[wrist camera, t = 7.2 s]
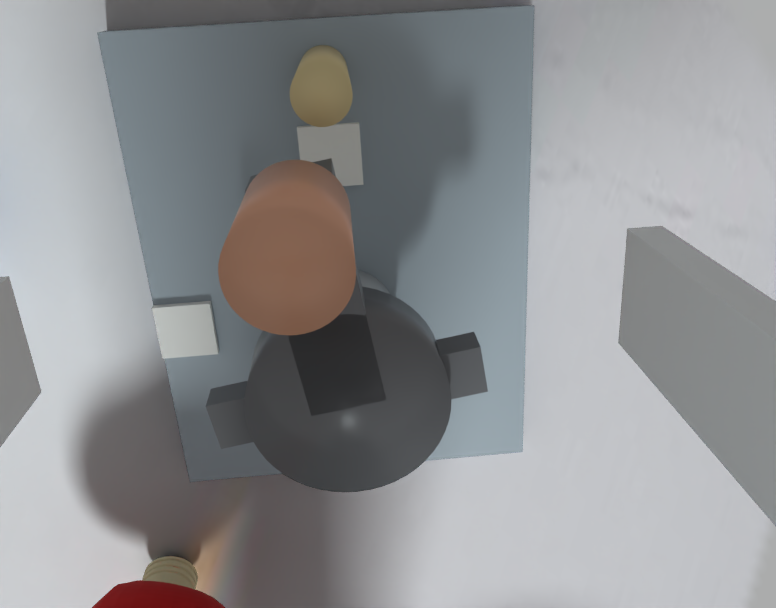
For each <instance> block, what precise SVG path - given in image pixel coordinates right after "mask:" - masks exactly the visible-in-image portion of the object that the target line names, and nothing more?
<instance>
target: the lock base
mask: <svg viewBox="0 0 776 608" xmlns="http://www.w3.org/2000/svg"><path fill="white" fill-rule="evenodd" d="M97 34H98V39H99V44H100V49H101V54H102V58H103V63H104V68H105V73H106V78H107V83H108V87H109V92H110V97H111V102H112V107H113V112H114V117H115V121H116V126H117V131H118V136H119V141H120V146H121V151H122V155H123V160H124V165H125V170H126V175H127V180H128V184H129V189H130V194H131V199H132V204H133V209H134V214H135V218H136V223H137V228H138V233H139V238H140V243H141V248H142V252H143V257H144V262H145V267H146V272H147V277H148V281H149V286H150V291H151V296H152V301H153V307H152V312H153V316H154V321H155V326H156V331H157V336H158V340H159V345H160V350H161V355H162V359H165V364H166V369H167V374H168V378H169V383H170V388H171V393H172V398H173V403H174V408H175V412H176V417H177V422H178V427H179V432H180V437H181V441H182V446H183V451H184V456H185V461H186V466H187V471H188V475H189V480H190V482H196V481H207V480H218V479H229V478H240V477H251V476H262V475H273V474H283V473H281V472H280V471H278V470H277V469H276V468H275V467H273V466H272V465H271V464H270V463H269V462H268V461H267V460H266V459H265V458H264V456H263V455H262V454H261V453H260V452H259V450H258V449H257V447H256V445H255V444H254V442H252V443H247V444H242V445H238V446H233V447H228V448H224V449H221V447H220V445H219V442H218V439H217V436H216V434H215V431H214V428H213V425H212V423H211V420H210V417H209V415H208V412H207V409H206V403H207V400H208V397H209V393H210V390H211V389H212V388H216V387H221V386H225V385H230V384H235V383H239V382H244V381H248V377H249V372H250V368H251V363H252V358H253V353H254V349H255V347H256V344H257V341H258V339H259V337H260V335H261V333H262V331H263V330H260V329H258V328H256V327H254V326H252V325H250V324H249V323H247V322H246V321H245V320H243V319H242V318H241V317H240V316H239V315H238V314H237V313H236V312H235V311H234V310H233V309H232V308H231V306H230V305H229V304H228V302H227V300H226V298H225V297H224V294H223V292H222V289H221V286H220V282H219V275H218V263H219V258H220V254H221V251H222V248H223V245H224V243H225V240H226V238H227V236H228V233H229V231H230V228H231V226H232V224H233V221H234V219H235V217H236V214H237V212H238V209H239V207H240V205H241V202H242V200H243V197H244V195H245V193H246V192H245V189H246V187H247V184H248V182H249V180H250V177H251V176H253V175H257V174H259V173H260V172H261V171H262V170H263V169H265V168H267V167H268V166H270V165H272V164H275V163H277V162H281V161H286V160H305V161H309V162H316V161H321V160H325V159H330V158H332V162H333V167H334V171H335V175H336V178H337V179H338V180H339V181H340V183H341V184H342V186H343V187H344V189H345V191H346V193H347V196H348V199H349V203H350V210H351V221H352V232H353V243H354V253H355V259H356V263H357V267H358V272H359V276H360V280H361V284H362V287H367V288H372V289H377V290H380V291H383V292H385V293H388V294H390V295H392V296H394V297H396V298H398V299H400V300H402V301H403V302H405V303H406V304H408V305H409V306H411V307H412V308H413V309H414V310H415V311H416V312H417V313H418V314H419V315H420V316H421V317H422V318H423V319H424V320H425V322H426V323H427V324H428V326H429V327H430V329H431V331H432V332H433V334H434V337H435V339H436V340H438V339H442V338H447V337H452V336H456V335H461V334H465V333H470V332H474V333H475V335H476V337H477V340H478V342H479V345H480V347H481V353H482V359H483V364H484V370H485V376H486V382H487V388H488V392H484V393H479V394H475V395H470V396H465V397H461V398H456V399H451V413H450V418H449V422H448V425H447V428H446V431H445V433H444V435H443V437H442V439H441V441H440V443H439V444H438V446H437V447H436V449H435V450H434V452H433V453H432V454H431V455H430V456H429V457H428V458H427V459H426V460H425V461H428V460H439V459H450V458H461V457H472V456H483V455H494V454H505V453H516V452H523V415H524V378H525V341H526V303H527V266H528V228H529V191H530V154H531V116H532V79H533V41H534V6H531V5H520V6H504V7H488V8H471V9H455V10H439V11H423V12H406V13H390V14H374V15H357V16H341V17H325V18H309V19H292V20H276V21H260V22H243V23H227V24H211V25H194V26H178V27H162V28H146V29H129V30H113V31H103V32H98V33H97Z"/></svg>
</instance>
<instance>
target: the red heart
mask: <svg viewBox="0 0 776 608" xmlns="http://www.w3.org/2000/svg"><path fill="white" fill-rule="evenodd" d="M197 579H198V576H197V572H196V569H195V567H194V566H193V565H192V564H191V563H190V562H188V561H187V560H185V559H183V558H180V557H175V556H165V557H161V558H158V559H156V560H154V561H152V562H151V563H150V564H149V565H148V567H147V568H146V570H145V573H144V576H143V580H142V581H141V580H140V581H133V582H129V583H123V584H118V585H117V586H115V587H114V588H113V589H112V590H110V591H109V592H108V593H107V594H106V595H105V596H104V597H103V598H102V599H101V600H99V601H98V602H97V603H96V604H95V605H94V606H93V607H92V608H225V607H224V606H223V605H222V604H221V603H219V602H218V601H217V600H215V599H214V598H213V597H211V596H209V595H207V594H205V593H203V592H200V591H198V590H195V588H196V583H197Z"/></svg>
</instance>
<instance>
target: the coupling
mask: <svg viewBox="0 0 776 608" xmlns="http://www.w3.org/2000/svg"><path fill="white" fill-rule="evenodd" d="M245 192H246V193H245V195H244V197H243V200H242V202H241V205H240V207H239V209H238V212H237V214H236V217H235V219H234V221H233V224H232V226H231V228H230V231H229V233H228V236H227V238H226V240H225V243H224V245H223V248H222V251H221V254H220V258H219V263H218V275H219V282H220V286H221V289H222V292H223V294H224V297H225V298H226V300H227V302H228V304H229V305H230V306H231V308H232V309H233V310H234V311H235V312H236V313H237V314H238V315H239V316H240V317H241V318H242V319H243V320H245V321H246V322H247V323H249V324H250V325H252V326H254V327H256V328H258V329H260V330H263V331H262V333H261V335H260V337H259V339H258V341H257V344H256V347H255V349H254V353H253V358H252V363H251V368H250V372H249V377H248V381H244V382H239V383H235V384H230V385H225V386H221V387H216V388H212V389H211V390H210V393H209V397H208V400H207V403H206V409H207V412H208V415H209V417H210V420H211V423H212V425H213V428H214V431H215V434H216V436H217V439H218V442H219V445H220V447H221V449H224V448H228V447H233V446H238V445H242V444H247V443H252V442H254V444H255V445H256V447H257V449H258V450H259V452H260V453H261V454H262V455H263V456H264V458H265V459H266V460H267V461H268V462H269V463H270V464H271V465H272V466H273V467H275V468H276V469H277V470H278V471H280V472H281V473H283V474H284V475H285V476H287V477H289V478H291V479H293V480H295V481H297V482H299V483H302V484H304V485H307V486H310V487H313V488H317V489H321V490H327V491H334V492H357V491H364V490H370V489H374V488H378V487H382V486H385V485H387V484H390V483H392V482H395V481H397V480H399V479H400V478H402V477H404V476H406V475H408V474H409V473H411V472H412V471H413V470H415V469H416V468H417V467H419V466H420V465H421V464H422V463H423V462H424V461H425V460H426V459H427V458H428V457H429V456H430V455H431V454H432V453H433V452H434V450H435V449H436V447H437V446H438V444H439V443H440V441H441V439H442V437H443V435H444V433H445V431H446V428H447V425H448V422H449V418H450V413H451V399H456V398H461V397H465V396H470V395H475V394H479V393H484V392H488V388H487V382H486V376H485V370H484V364H483V359H482V353H481V347H480V345H479V342H478V340H477V337H476V335H475V333H474V332H470V333H465V334H461V335H456V336H452V337H447V338H442V339H438V340H436V339H435V337H434V334H433V332H432V331H431V329H430V327H429V326H428V324H427V323H426V322H425V320H424V319H423V318H422V317H421V316H420V315H419V314H418V313H417V312H416V311H415V310H414V309H413V308H412V307H411V306H409V305H408V304H406V303H405V302H403V301H402V300H400V299H398V298H396V297H394V296H392V295H390V294H388V293H385V292H383V291H380V290H377V289H372V288H367V287H362V284H361V280H360V276H359V272H358V267H357V263H356V259H355V253H354V243H353V232H352V221H351V210H350V203H349V199H348V196H347V193H346V191H345V189H344V187H343V186H342V184H341V183H340V181H339V180H338V179H337V178H336V175H335V171H334V167H333V162H332V158H330V159H325V160H321V161H316V162H309V161H305V160H286V161H281V162H277V163H275V164H272V165H270V166H268V167H267V168H265V169H263V170H262V171H261V172H260V173H259V174H257V175H253V176H251V177H250V180H249V182H248V184H247V187H246V189H245Z"/></svg>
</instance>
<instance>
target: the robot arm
mask: <svg viewBox="0 0 776 608" xmlns="http://www.w3.org/2000/svg"><path fill="white" fill-rule="evenodd" d="M618 343H619V344H620V345H621V346H622V348H623V349H624V350H625V351H626V352H627V353H628V355H629V356H630V357H631V358H632V359H633V360H634V362H635V363H636V364H637V365H638V366H639V367H640V369H641V370H642V371H643V372H644V373H645V374H646V376H647V377H648V378H649V379H650V380H651V381H652V383H653V384H654V385H655V386H656V387H657V388H658V390H659V391H660V392H661V393H662V394H663V395H664V397H665V398H666V399H667V400H668V401H669V402H670V404H671V405H672V406H673V407H674V408H675V409H676V411H677V412H678V413H679V414H680V415H681V416H682V418H683V419H684V420H685V421H686V422H687V423H688V425H689V426H690V427H691V428H692V429H693V430H694V432H695V433H696V434H697V435H698V436H699V437H700V439H701V440H702V441H703V442H704V443H705V444H706V446H707V447H708V448H709V449H710V450H711V451H712V453H713V454H714V455H715V456H716V457H717V458H718V460H719V461H720V462H721V463H722V464H723V465H724V467H725V468H726V469H727V470H728V471H729V472H730V474H731V475H732V476H733V477H734V478H735V479H736V481H737V482H738V483H739V484H740V485H741V486H742V488H743V489H744V490H745V491H746V492H747V493H748V495H749V496H750V497H751V498H752V499H753V500H754V502H755V503H756V504H757V505H758V506H759V507H760V509H761V510H762V511H763V512H764V513H765V514H766V516H767V517H768V518H769V519H770V520H771V521H772V523H773V524H774V525H775V526H776V301H774V300H773V299H771V298H770V297H768V296H767V295H765V294H764V293H762V292H761V291H759V290H758V289H756V288H755V287H753V286H752V285H750V284H749V283H747V282H746V281H744V280H743V279H741V278H740V277H738V276H737V275H735V274H734V273H732V272H731V271H729V270H728V269H726V268H725V267H723V266H722V265H720V264H719V263H717V262H716V261H714V260H713V259H711V258H710V257H708V256H707V255H705V254H703V253H702V252H700V251H699V250H697V249H696V248H694V247H693V246H691V245H690V244H688V243H687V242H685V241H684V240H682V239H681V238H679V237H678V236H676V235H675V234H673V233H672V232H670V231H669V230H667V229H666V228H664V227H663V226H655V227H642V228H629V229H627V239H626V252H625V265H624V278H623V290H622V303H621V316H620V329H619V342H618ZM40 393H41V389H40V385H39V382H38V378H37V375H36V371H35V367H34V364H33V360H32V357H31V353H30V350H29V346H28V343H27V339H26V335H25V332H24V328H23V325H22V321H21V318H20V314H19V311H18V307H17V303H16V300H15V296H14V293H13V289H12V286H11V282H10V279H9V276H8V277H0V447H1V446H2V444H3V443H4V442H5V440H6V439H7V438H8V436H9V435H10V434H11V432H12V431H13V429H14V428H15V427H16V425H17V424H18V423H19V421H20V420H21V419H22V417H23V416H24V415H25V413H26V412H27V411H28V409H29V408H30V407H31V405H32V404H33V403H34V401H35V400H36V399H37V397H38V396H39V395H40Z"/></svg>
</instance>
